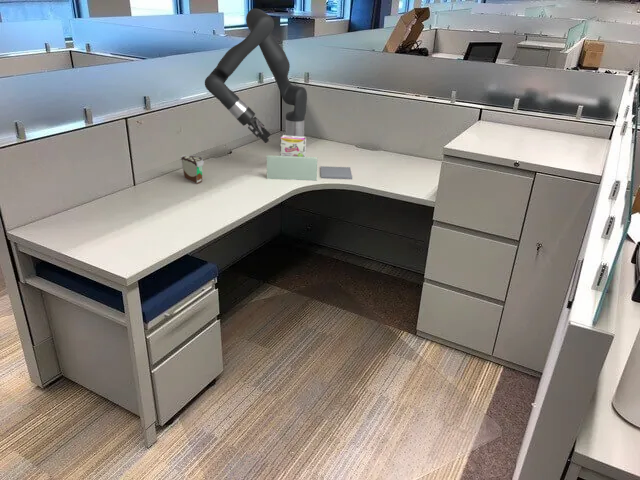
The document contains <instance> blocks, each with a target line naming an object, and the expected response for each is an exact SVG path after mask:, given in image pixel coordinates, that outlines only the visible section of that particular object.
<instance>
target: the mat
mask: <svg viewBox="0 0 640 480" xmlns="http://www.w3.org/2000/svg"><path fill="white" fill-rule="evenodd" d="M320 179H332V180H336V179H337V180H353V175H352V171H351V167H349V166H327V165H326V166H325V165H321V166H320Z"/></svg>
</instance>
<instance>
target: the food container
mask: <svg viewBox="0 0 640 480" xmlns="http://www.w3.org/2000/svg"><path fill="white" fill-rule="evenodd" d="M180 160H181V166H182V172H183V178H184V180H187V181H189V182H192V183H193V184H195V185H199V184H201V183H202V182H203V165H204V164H205V162H204V159H203V157H202V156H201V155H197V154H183V155H180Z"/></svg>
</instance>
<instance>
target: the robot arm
mask: <svg viewBox="0 0 640 480" xmlns="http://www.w3.org/2000/svg"><path fill="white" fill-rule="evenodd" d="M245 21H246V23H245V24H246V27H247V29H248V30H249V31H250V32H249V34H248V35H247V36H246V37H245V38H244V39H243V40H242V41H240V42H239V43H237V44H236V45H233V46H232V47H230V49H228V51H226V52H225V54H224V55H223V56H222V58H221V59H220V60H219V61H218V63H217V65H216V67H215V68H214V69H213V70H212V71H211V72H210V74H209V75H207V77H206V78H205V80H204V87H205V88H206V90H207V92H209V93H210V94H211V95H212V96H214V98H216V99H217V100H218V101H219V102H220V103H221V104H222V105H223V106H224V108H226V109H227V110H228V111H229V112H230V114H231V115H232V116H233V117H234V118H235V119H236V120H237V122H239V123H240V124H241V125H242V126H247V125H248V127H247V129H248V130H249V131H250V132H251V133H252V134H253V135H254V136H255V137H256V138H260V139H261V140H262V141H263V142H264V144H266V143H268V142H270V139H269V138H270V137H271V136H272V135H271V133H270V131H268V130H267V129H266V126H265V125H264V123H263V122H262V121H261V120H260V119H259V118H258V117H257V116H256V113H255V112H254V110H253V109H252V108H250V107H249V106H248V105H247V103H246V102H244V100H243V99H241V98H240V97H239V96H238V95H237V93H235V91H234V92H233V90H231V89H230V88H229V86H227V84H226V82H227V80H228V79H229V77H230V76H231V75H233V73H234V72H235V71H236V69H238V67H239V66H240V65H241V63H243V61H244V60H245V59H246V58H247V57H248V56H249V55H250V54H251V53H252V51H254V50H255V49H256V48H257V47H258V46H259V49H260V51H261V53H262V55H263V57H264V60H265V62H266V65H267V67H268V68H269V71H270V73H271V74H272V76H273V78H274V80H275V82H276V84H277V85H276V86H278V90H279V93H280V96H281V99H282V101H283V102H284V103H285V104H287V105H289V106H294V108H293V110H292V111H289V112H287V113H286V114H285V135H289V136H301V137H305V119H306V118H305V117H306V113H307V102H308V93H307V89H306V88H305V87H304V86H299V85H293V84H291V81H290V79H289V73H290V67H291V66H290V62H289V58H288V57H287V55H286V52H285V50H284V49H283V47H282V46H281V44H280V43H279V42H278V41H277V40H276V38H275V37H274V35H273V33H272V32H273V30H274V27H275V21H274V19H273V17H272V16H270V14H268V13H267V12H265V11H264V10H262V9H259V8H251V9H249V11H248V12H247V14H246V17H245Z"/></svg>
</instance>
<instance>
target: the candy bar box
mask: <svg viewBox="0 0 640 480" xmlns="http://www.w3.org/2000/svg"><path fill="white" fill-rule="evenodd" d="M279 143H280V144H279V145H280V146H279V147H280V149H279V150H280V151H279V156H296V157H306V151H307V149H306V148H307V137H306V136H304V137H301V136H289V135H286V134H282V135H281V136H280V141H279Z"/></svg>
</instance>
